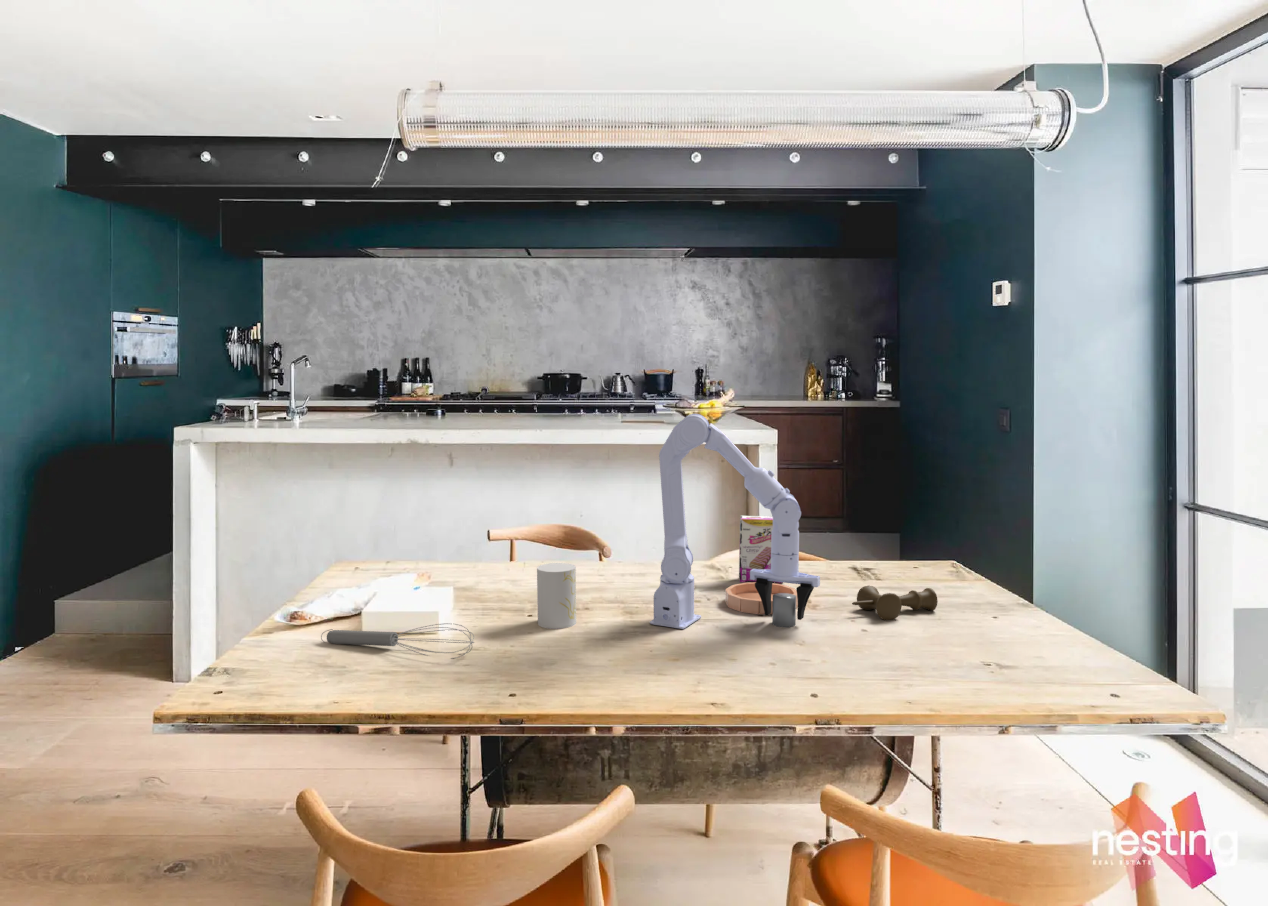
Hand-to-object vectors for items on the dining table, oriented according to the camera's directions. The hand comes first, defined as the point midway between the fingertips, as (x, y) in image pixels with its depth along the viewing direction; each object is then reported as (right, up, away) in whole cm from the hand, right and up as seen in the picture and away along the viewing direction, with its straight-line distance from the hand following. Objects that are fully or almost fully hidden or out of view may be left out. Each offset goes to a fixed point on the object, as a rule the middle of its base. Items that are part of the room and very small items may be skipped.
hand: (784, 616), depth 174 cm
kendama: (+25, -1, +8) cm, 27 cm away
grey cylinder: (0, -2, 0) cm, 2 cm away
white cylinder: (-48, -2, +2) cm, 48 cm away
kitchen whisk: (-77, -4, -15) cm, 79 cm away
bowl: (-2, 0, +15) cm, 15 cm away
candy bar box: (+1, +2, +36) cm, 36 cm away
